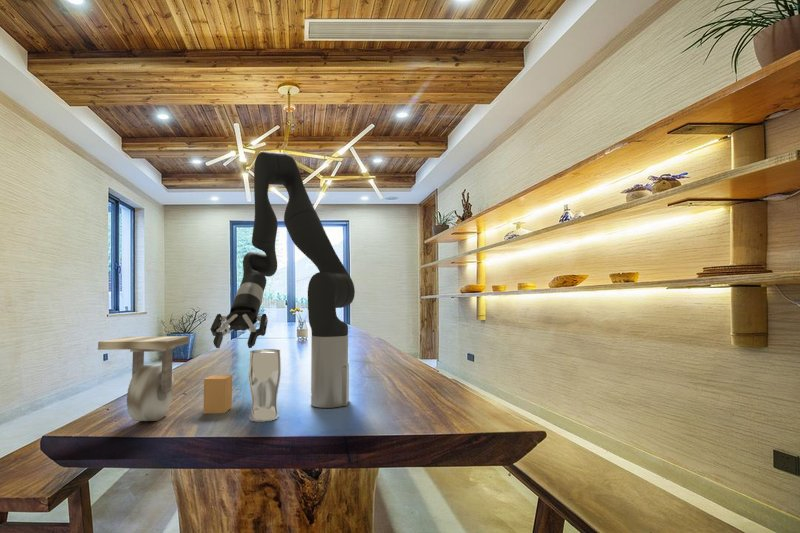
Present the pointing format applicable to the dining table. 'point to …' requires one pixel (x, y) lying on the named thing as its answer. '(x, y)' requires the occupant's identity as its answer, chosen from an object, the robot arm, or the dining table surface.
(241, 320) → the robot arm
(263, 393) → the beer glass
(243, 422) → the dining table surface
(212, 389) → the orange tan block
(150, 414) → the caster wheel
